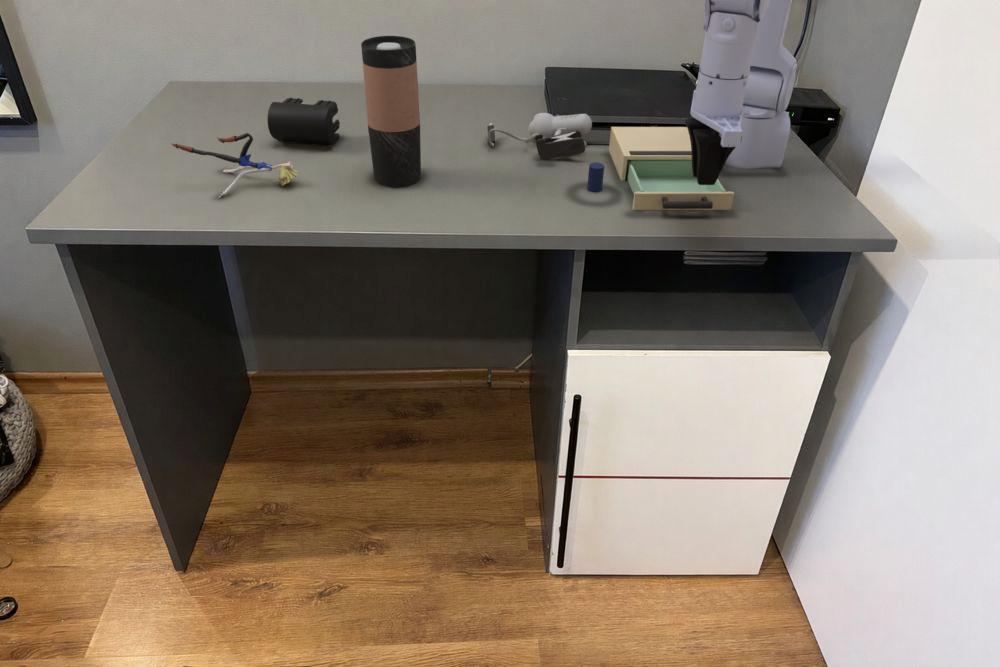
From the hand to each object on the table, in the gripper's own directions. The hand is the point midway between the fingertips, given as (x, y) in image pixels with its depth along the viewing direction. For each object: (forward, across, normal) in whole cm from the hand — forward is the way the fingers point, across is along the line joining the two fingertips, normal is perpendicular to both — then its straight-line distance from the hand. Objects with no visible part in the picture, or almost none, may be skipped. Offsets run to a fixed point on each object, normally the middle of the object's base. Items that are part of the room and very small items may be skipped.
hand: (703, 179), depth 97 cm
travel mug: (+9, +20, +41) cm, 46 cm away
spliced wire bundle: (+9, +16, +63) cm, 66 cm away
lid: (+8, +13, +12) cm, 20 cm away
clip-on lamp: (+9, +30, +19) cm, 37 cm away
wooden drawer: (+8, +11, 0) cm, 14 cm away
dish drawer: (+8, +22, 0) cm, 24 cm away
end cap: (+9, +34, +57) cm, 67 cm away
